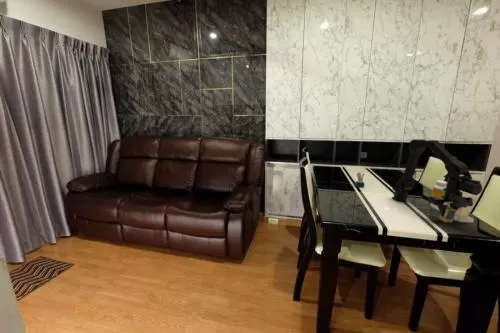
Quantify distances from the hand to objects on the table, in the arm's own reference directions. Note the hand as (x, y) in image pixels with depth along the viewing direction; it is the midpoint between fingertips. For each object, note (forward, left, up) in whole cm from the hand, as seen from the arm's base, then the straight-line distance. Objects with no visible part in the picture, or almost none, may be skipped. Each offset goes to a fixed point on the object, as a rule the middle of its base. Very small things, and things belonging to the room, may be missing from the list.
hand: (446, 216), depth 123 cm
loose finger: (0, 0, -2) cm, 2 cm away
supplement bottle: (+16, +28, -3) cm, 33 cm away
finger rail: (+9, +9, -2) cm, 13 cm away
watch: (-23, +53, -3) cm, 58 cm away
